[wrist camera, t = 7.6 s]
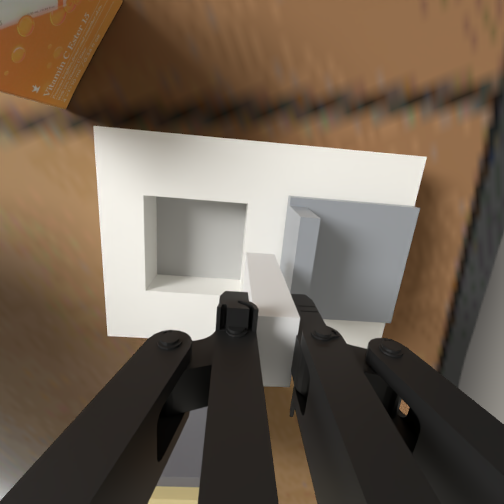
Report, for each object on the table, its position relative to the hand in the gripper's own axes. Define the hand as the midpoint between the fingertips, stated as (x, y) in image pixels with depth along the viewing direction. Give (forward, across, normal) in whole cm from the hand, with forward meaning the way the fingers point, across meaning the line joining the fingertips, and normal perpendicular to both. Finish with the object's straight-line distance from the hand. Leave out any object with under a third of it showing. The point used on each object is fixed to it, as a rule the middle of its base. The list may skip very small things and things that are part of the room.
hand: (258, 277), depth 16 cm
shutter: (+4, +6, 0) cm, 7 cm away
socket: (+8, 0, 0) cm, 8 cm away
